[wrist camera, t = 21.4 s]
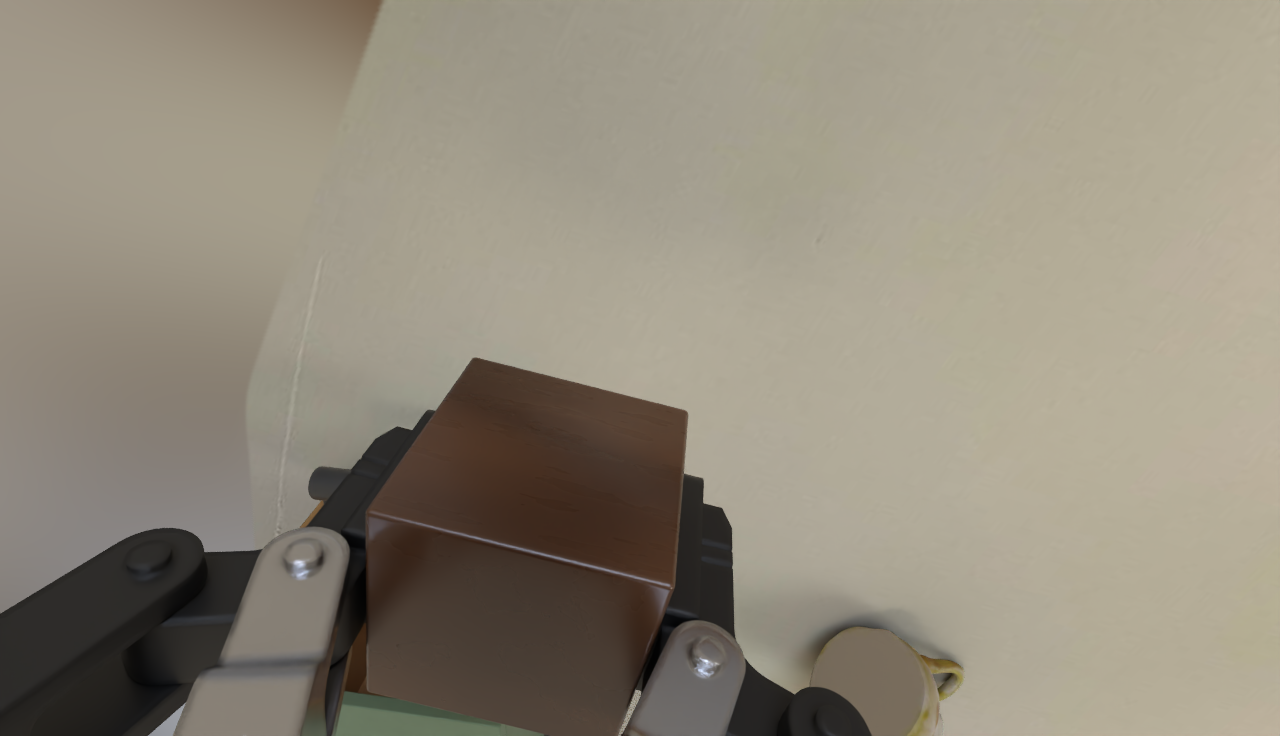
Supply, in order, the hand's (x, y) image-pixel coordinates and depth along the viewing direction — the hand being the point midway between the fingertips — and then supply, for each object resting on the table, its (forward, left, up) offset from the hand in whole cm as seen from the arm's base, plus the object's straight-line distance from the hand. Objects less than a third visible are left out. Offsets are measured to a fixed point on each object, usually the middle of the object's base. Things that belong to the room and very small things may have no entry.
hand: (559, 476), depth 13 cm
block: (0, 0, 0) cm, 0 cm away
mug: (+33, +2, -17) cm, 37 cm away
